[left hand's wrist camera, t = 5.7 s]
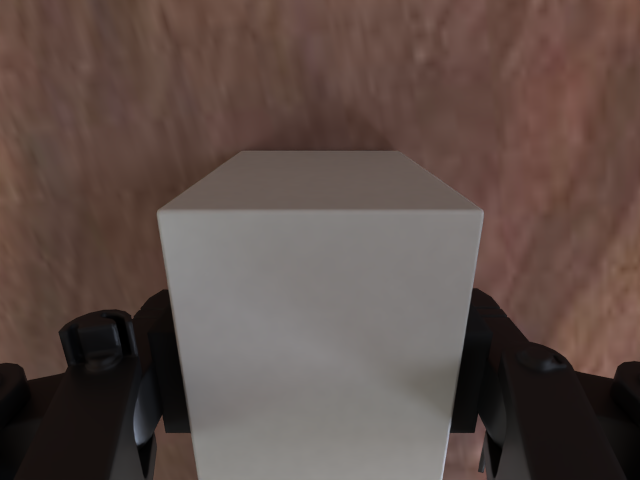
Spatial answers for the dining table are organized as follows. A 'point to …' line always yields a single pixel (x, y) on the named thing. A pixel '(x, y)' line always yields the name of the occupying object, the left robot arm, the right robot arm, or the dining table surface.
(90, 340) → the left robot arm
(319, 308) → the post
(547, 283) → the dining table surface
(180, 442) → the dining table surface
